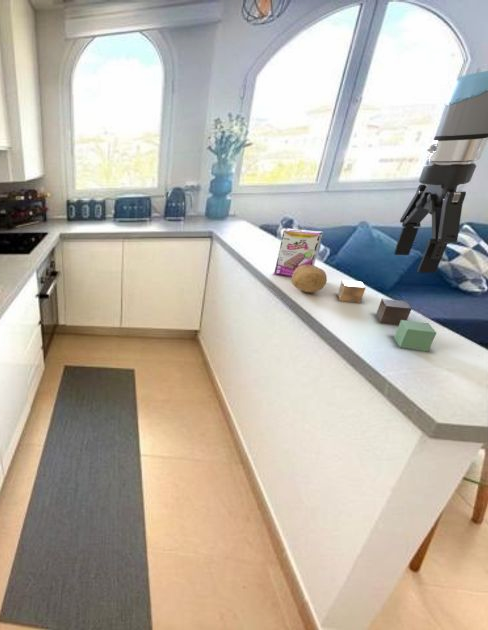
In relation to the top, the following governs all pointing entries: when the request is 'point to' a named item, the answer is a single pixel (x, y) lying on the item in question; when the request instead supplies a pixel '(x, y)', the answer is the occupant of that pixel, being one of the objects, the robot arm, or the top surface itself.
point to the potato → (309, 278)
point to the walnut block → (393, 311)
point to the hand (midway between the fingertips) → (412, 263)
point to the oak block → (351, 291)
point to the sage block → (414, 335)
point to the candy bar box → (297, 250)
